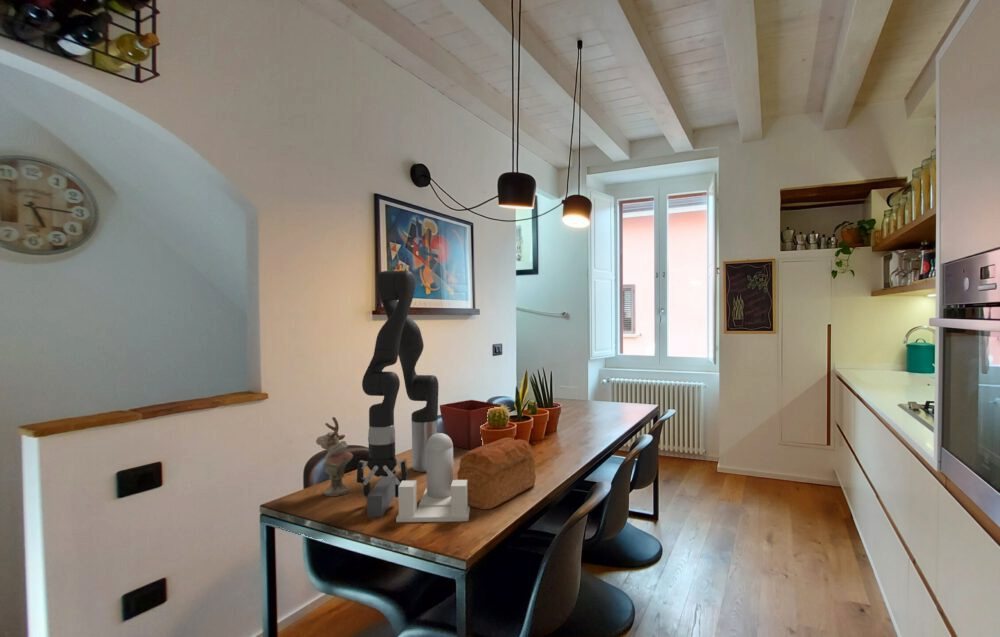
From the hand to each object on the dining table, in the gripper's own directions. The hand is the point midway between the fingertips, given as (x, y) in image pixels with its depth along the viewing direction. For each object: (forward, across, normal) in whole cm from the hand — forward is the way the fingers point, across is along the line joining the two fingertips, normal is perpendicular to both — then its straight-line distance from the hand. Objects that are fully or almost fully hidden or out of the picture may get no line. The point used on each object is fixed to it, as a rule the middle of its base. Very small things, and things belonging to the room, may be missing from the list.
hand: (382, 496), depth 143 cm
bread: (+3, -33, -8) cm, 34 cm away
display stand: (+2, -16, +1) cm, 16 cm away
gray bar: (+3, 0, 0) cm, 3 cm away
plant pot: (+2, -21, -66) cm, 70 cm away
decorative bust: (+2, +18, -12) cm, 22 cm away
